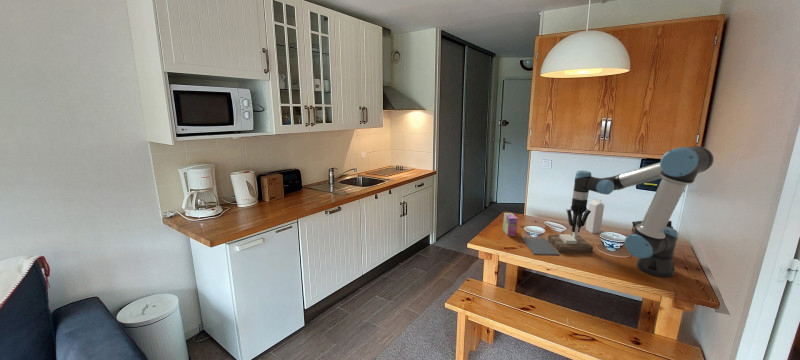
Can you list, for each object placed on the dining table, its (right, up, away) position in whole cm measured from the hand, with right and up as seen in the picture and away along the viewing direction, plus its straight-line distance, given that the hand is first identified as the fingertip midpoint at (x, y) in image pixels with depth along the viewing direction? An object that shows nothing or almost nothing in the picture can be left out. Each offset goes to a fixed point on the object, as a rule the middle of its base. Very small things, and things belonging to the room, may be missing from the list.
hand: (574, 237), depth 189 cm
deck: (-2, -6, +1) cm, 7 cm away
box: (-30, -1, +22) cm, 38 cm away
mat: (-19, -6, +2) cm, 20 cm away
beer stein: (+38, -8, -5) cm, 39 cm away
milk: (+25, -1, +24) cm, 35 cm away
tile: (-4, -2, 0) cm, 4 cm away
